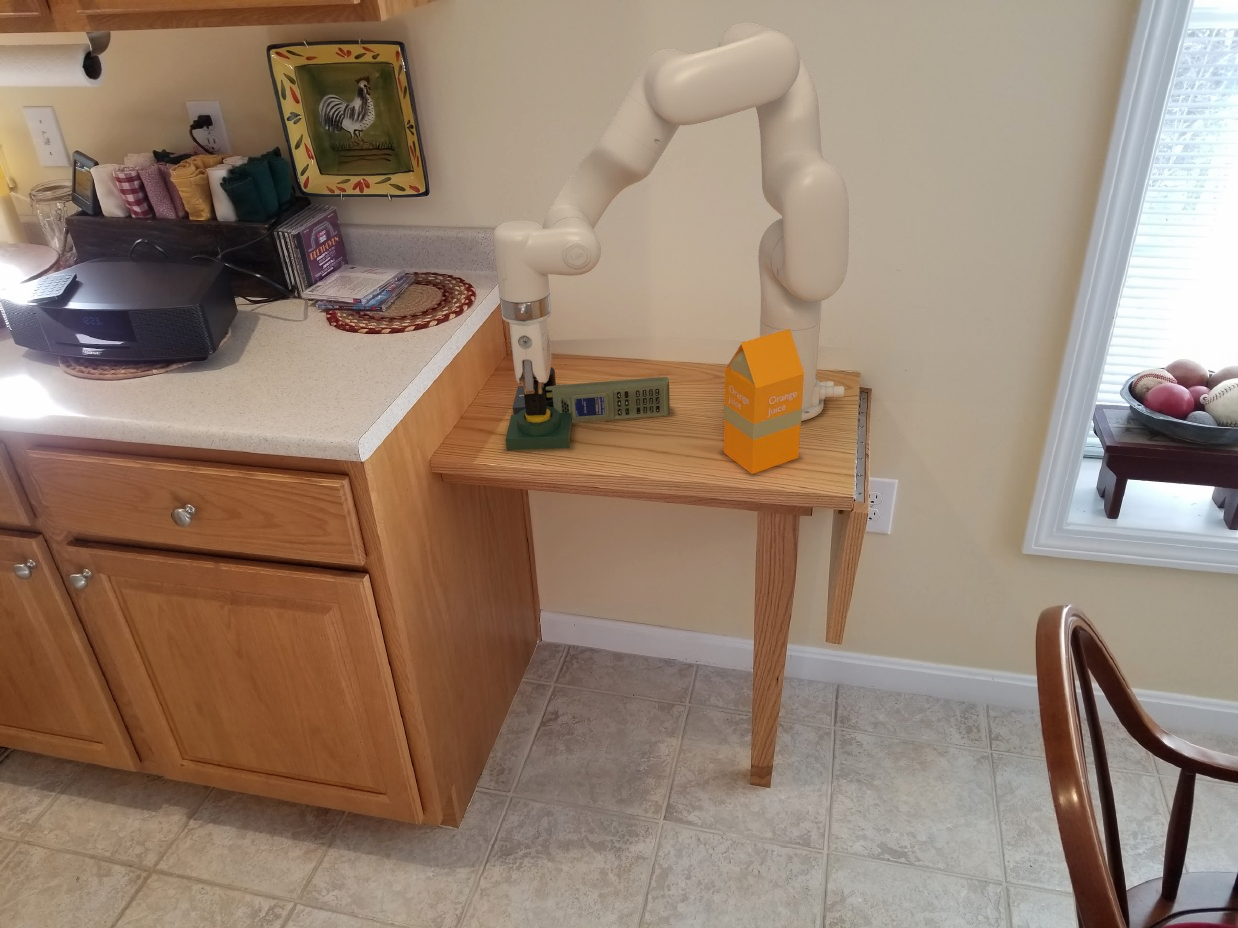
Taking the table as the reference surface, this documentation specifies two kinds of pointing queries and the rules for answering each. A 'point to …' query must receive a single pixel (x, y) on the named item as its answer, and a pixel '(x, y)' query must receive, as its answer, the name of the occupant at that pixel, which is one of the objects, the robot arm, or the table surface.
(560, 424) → the green button base
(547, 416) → the yellow push button
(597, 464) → the table surface
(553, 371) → the knob
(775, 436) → the orange juice
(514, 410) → the nozzle panel
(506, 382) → the table surface
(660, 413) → the handheld radio
